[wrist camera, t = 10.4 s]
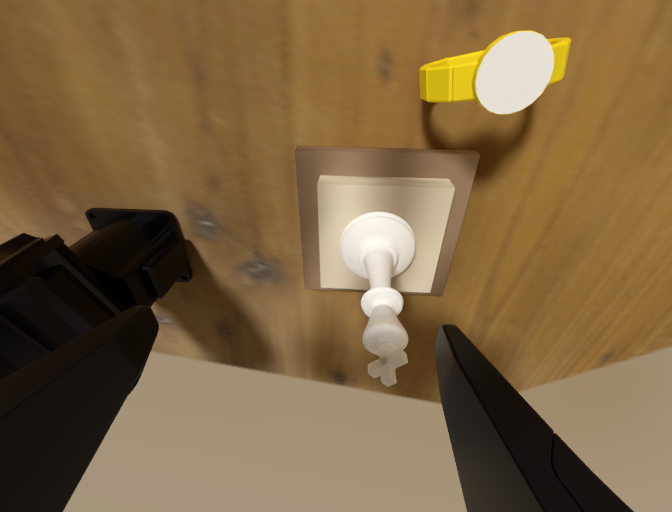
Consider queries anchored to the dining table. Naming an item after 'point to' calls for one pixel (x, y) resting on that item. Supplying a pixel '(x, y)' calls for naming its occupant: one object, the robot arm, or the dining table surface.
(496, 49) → the watch
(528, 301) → the dining table surface
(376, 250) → the chess piece
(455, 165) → the build base
